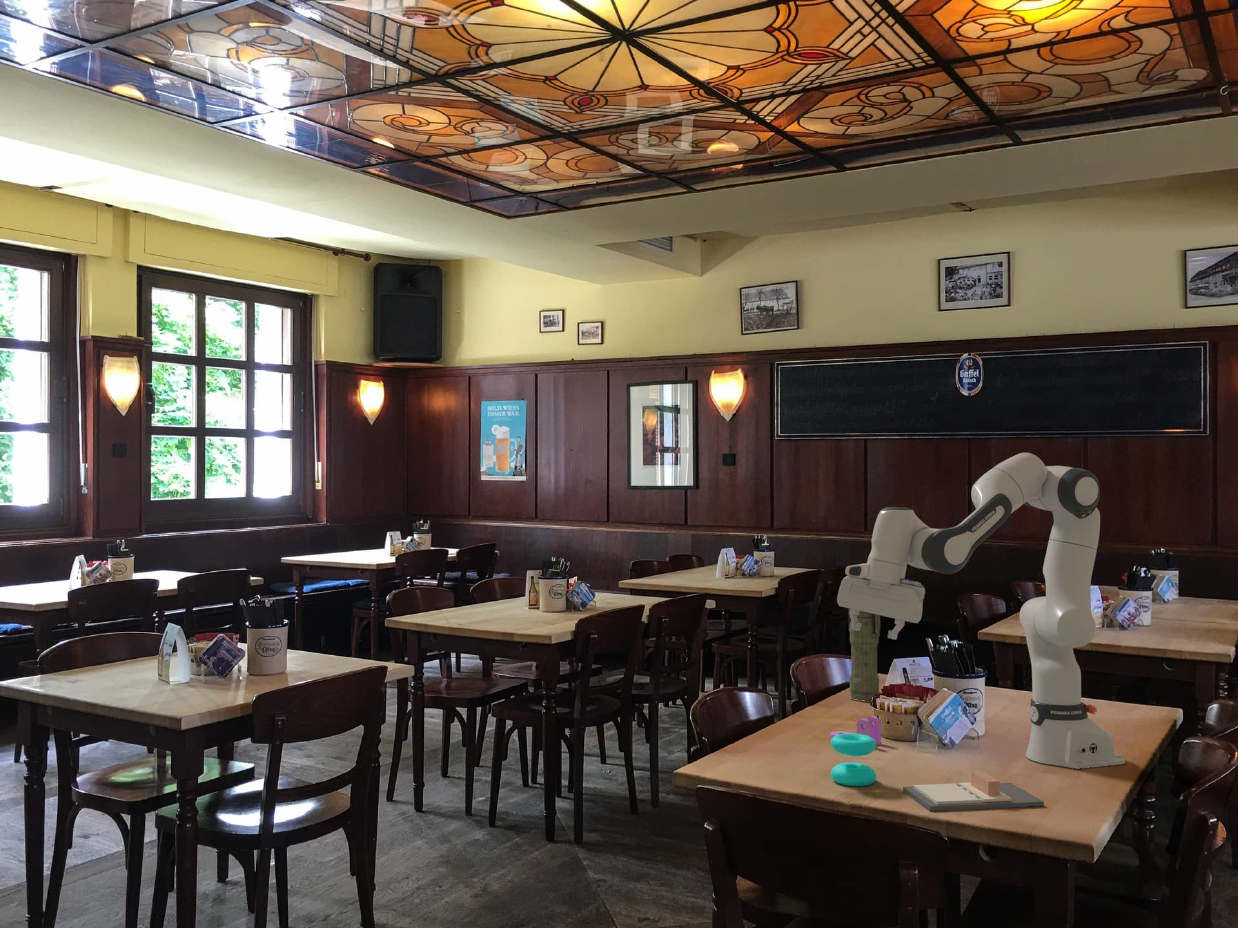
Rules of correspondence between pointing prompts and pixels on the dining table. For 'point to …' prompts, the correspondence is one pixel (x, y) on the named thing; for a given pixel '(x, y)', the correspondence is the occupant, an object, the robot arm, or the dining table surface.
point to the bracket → (866, 729)
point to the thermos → (864, 656)
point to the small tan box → (985, 787)
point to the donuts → (853, 771)
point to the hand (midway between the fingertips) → (873, 634)
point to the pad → (967, 797)
